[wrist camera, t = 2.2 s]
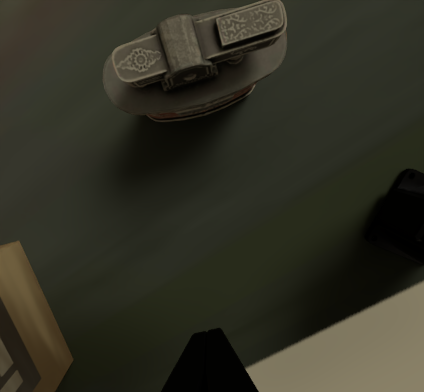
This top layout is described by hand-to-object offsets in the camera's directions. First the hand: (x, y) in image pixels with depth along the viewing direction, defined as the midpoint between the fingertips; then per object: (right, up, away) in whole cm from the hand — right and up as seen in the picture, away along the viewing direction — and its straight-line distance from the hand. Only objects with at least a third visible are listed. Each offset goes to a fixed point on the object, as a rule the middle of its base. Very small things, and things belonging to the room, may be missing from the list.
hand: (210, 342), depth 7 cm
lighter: (-1, +12, +11) cm, 16 cm away
